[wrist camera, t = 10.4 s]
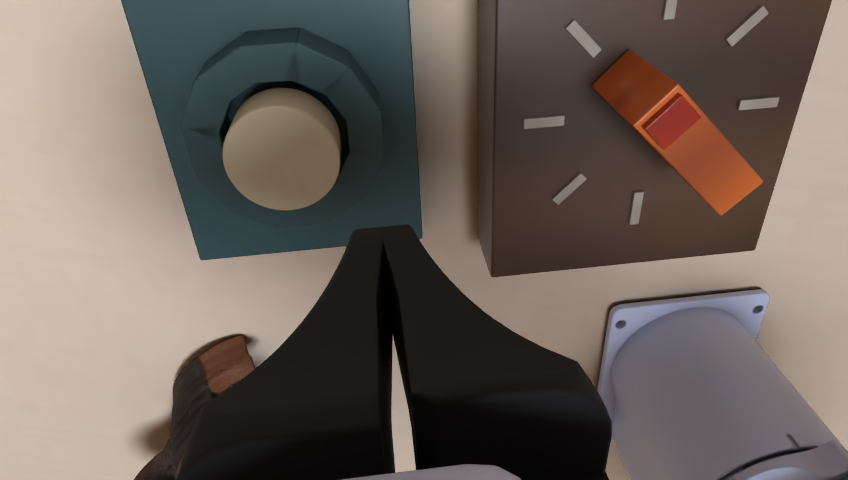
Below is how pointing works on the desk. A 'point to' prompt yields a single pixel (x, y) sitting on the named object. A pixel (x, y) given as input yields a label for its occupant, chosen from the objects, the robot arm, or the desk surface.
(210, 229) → the button block
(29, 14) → the desk surface
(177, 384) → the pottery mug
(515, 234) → the dial board
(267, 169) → the button
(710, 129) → the dial knob
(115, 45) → the desk surface
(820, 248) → the desk surface
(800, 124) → the desk surface
